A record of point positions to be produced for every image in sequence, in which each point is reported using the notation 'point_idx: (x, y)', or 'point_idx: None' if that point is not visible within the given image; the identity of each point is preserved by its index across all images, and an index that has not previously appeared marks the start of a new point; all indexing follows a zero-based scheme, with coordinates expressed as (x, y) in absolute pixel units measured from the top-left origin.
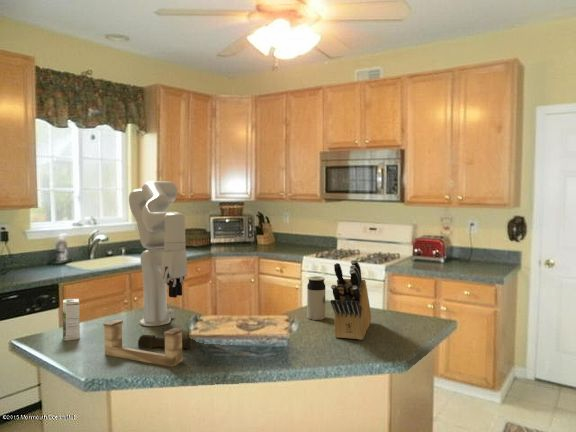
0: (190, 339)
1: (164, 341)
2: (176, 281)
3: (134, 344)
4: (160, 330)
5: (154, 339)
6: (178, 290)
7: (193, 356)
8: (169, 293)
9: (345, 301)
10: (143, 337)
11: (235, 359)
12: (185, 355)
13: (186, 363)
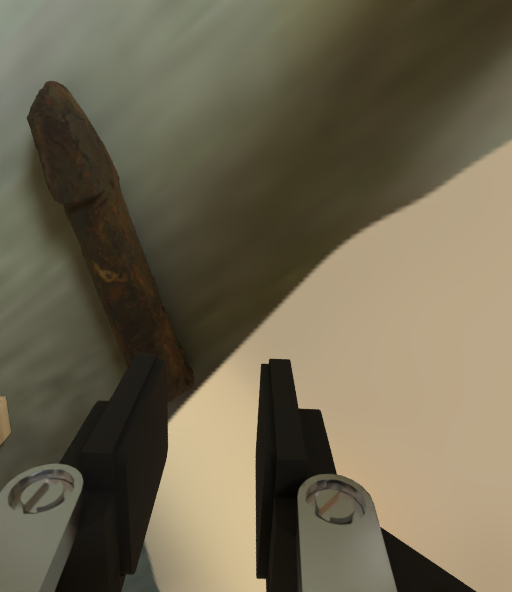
0: (181, 393)
1: (92, 276)
2: (305, 553)
3: (85, 26)
4: (412, 3)
5: (68, 212)
6: (257, 474)
7: None
8: (93, 410)
9: None
10: (32, 134)
11: (136, 588)
12: (80, 407)
13: (4, 457)
